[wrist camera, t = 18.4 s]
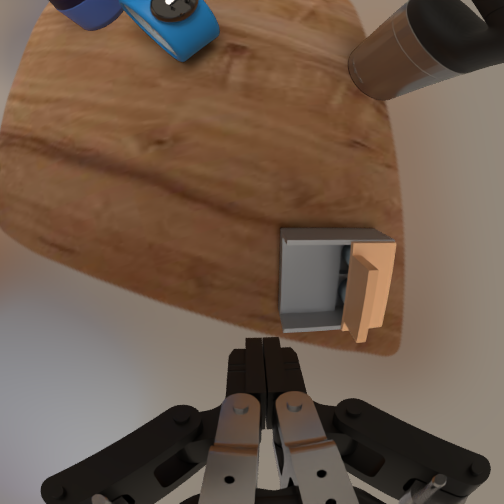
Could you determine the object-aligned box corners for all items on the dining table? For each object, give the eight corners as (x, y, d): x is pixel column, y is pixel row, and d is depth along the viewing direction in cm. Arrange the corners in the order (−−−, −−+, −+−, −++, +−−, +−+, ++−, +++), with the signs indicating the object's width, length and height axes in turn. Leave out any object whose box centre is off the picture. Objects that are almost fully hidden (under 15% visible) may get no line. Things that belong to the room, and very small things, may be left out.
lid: (393, 241, 32) (417, 255, 27) (379, 323, 36) (396, 346, 30) (351, 241, 32) (370, 256, 27) (340, 327, 36) (354, 352, 30)
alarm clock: (139, 28, 28) (97, -19, 14) (171, 3, 27) (142, -52, 13) (191, 75, 32) (161, 28, 17) (226, 48, 31) (216, -9, 16)
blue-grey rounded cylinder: (364, 235, 38) (379, 245, 33) (369, 260, 39) (383, 272, 34) (339, 243, 38) (351, 254, 33) (344, 269, 39) (356, 282, 34)
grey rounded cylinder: (360, 273, 39) (374, 287, 35) (363, 296, 41) (376, 311, 36) (336, 281, 40) (347, 296, 35) (339, 304, 41) (350, 320, 36)
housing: (373, 228, 38) (394, 239, 32) (363, 304, 42) (380, 324, 36) (280, 227, 38) (287, 240, 32) (278, 308, 42) (283, 332, 36)
